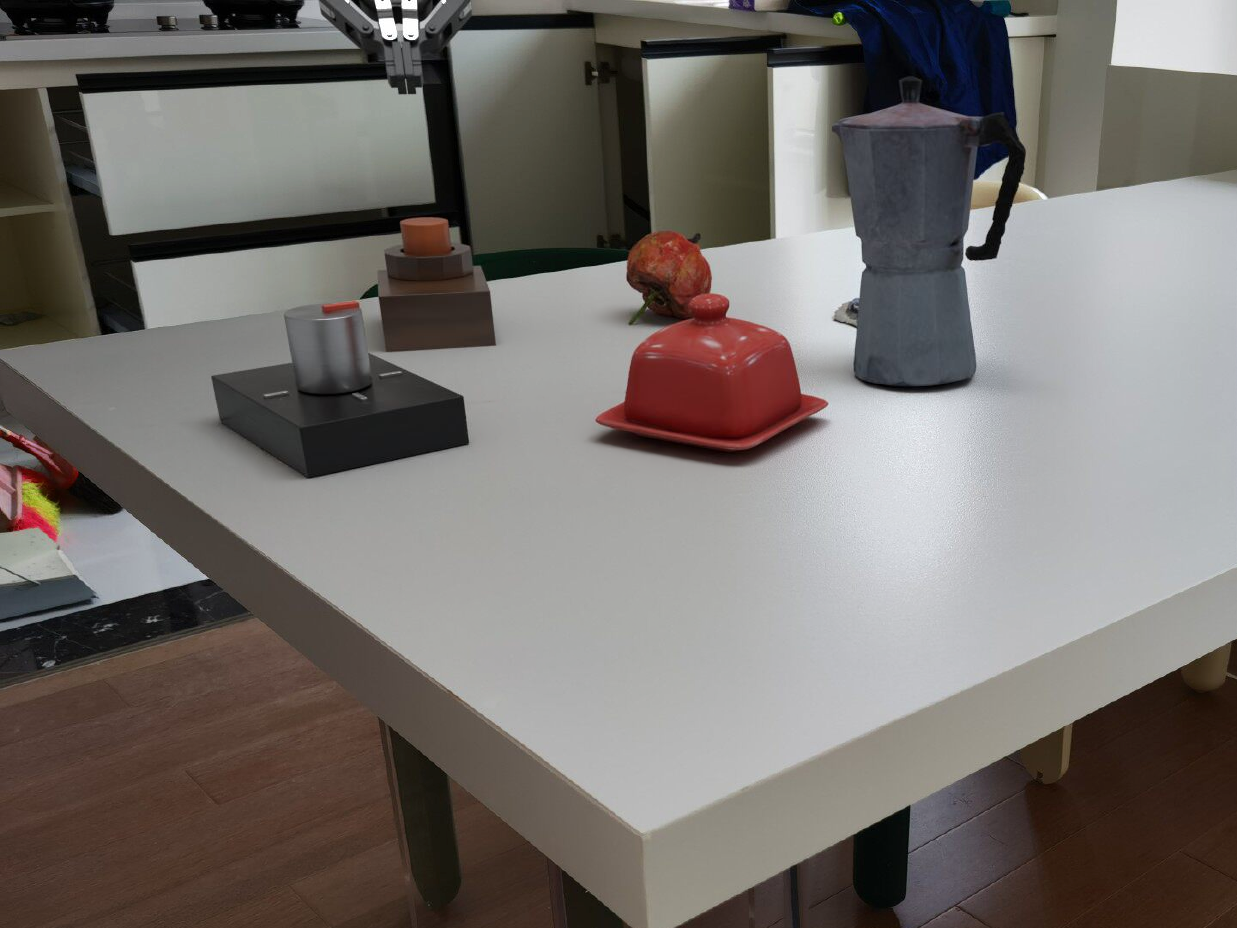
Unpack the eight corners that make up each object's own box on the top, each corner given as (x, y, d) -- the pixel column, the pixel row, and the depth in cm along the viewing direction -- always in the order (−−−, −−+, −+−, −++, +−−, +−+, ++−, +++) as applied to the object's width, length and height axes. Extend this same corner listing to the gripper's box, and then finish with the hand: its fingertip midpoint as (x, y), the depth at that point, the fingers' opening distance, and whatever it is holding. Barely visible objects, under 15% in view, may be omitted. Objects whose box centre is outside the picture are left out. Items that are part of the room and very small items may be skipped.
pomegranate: (675, 359, 113) (753, 271, 115) (616, 291, 108) (699, 201, 110) (635, 350, 118) (710, 266, 120) (577, 285, 114) (656, 200, 116)
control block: (496, 346, 107) (487, 266, 104) (386, 353, 104) (374, 271, 102) (485, 313, 116) (477, 240, 114) (384, 319, 114) (373, 244, 111)
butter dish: (744, 469, 82) (740, 324, 78) (586, 439, 86) (574, 301, 83) (837, 419, 91) (837, 287, 87) (689, 395, 96) (683, 268, 92)
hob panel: (219, 422, 89) (210, 373, 87) (371, 394, 95) (364, 348, 93) (308, 478, 79) (299, 424, 78) (469, 443, 85) (463, 393, 84)
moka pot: (863, 347, 108) (866, 68, 99) (1044, 377, 101) (1065, 79, 92) (795, 374, 101) (791, 75, 92) (985, 408, 94) (1001, 88, 85)
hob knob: (311, 398, 83) (297, 317, 81) (286, 382, 86) (272, 304, 84) (383, 386, 85) (372, 307, 83) (356, 371, 88) (344, 294, 86)
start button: (453, 257, 109) (449, 223, 108) (404, 259, 108) (400, 225, 107) (450, 249, 112) (446, 216, 111) (403, 251, 111) (399, 218, 110)
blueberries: (914, 308, 121) (914, 286, 120) (913, 330, 114) (914, 306, 113) (836, 306, 121) (836, 284, 120) (830, 328, 114) (830, 304, 113)
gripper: (296, -117, 115) (315, 55, 110) (462, -112, 119) (487, 54, 114) (310, -46, 122) (328, 119, 117) (467, -43, 125) (490, 117, 121)
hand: (406, 87), depth 115 cm, fingers closed
